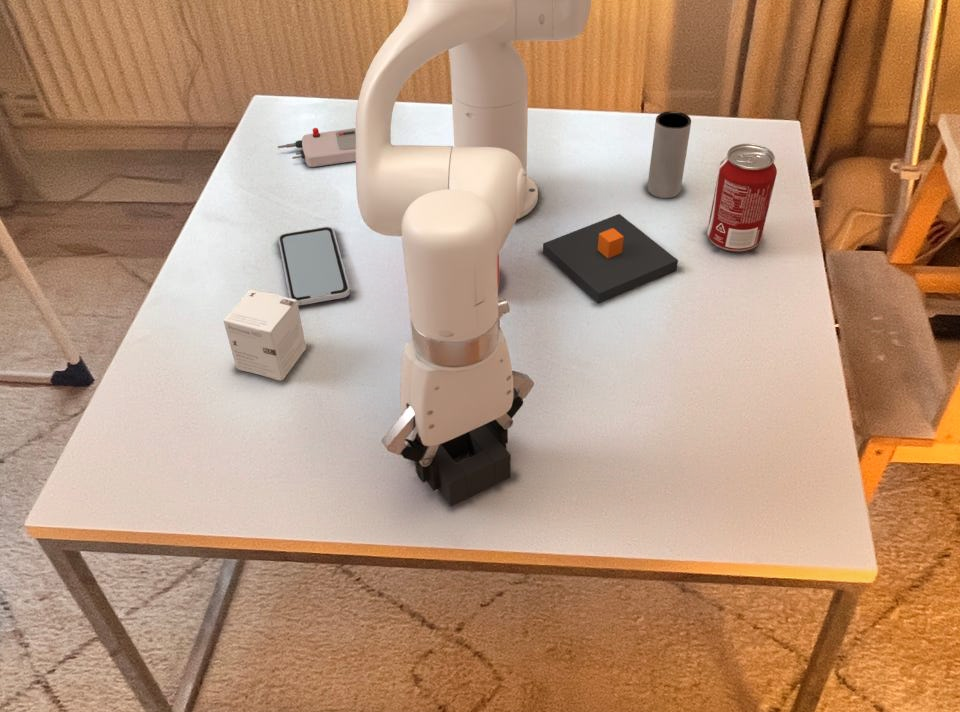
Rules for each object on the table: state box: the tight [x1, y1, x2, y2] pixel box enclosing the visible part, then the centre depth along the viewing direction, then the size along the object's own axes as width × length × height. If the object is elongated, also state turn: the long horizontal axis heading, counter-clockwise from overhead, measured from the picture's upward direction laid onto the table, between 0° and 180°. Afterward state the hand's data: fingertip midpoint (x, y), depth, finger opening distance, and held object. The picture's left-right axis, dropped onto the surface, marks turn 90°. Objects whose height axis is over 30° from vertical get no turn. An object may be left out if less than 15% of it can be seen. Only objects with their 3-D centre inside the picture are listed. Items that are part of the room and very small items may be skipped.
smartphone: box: [277, 226, 351, 306], centre depth 117 cm, size 7×1×15 cm
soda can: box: [706, 143, 778, 252], centre depth 114 cm, size 7×7×12 cm
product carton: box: [223, 288, 307, 382], centre depth 103 cm, size 6×6×7 cm
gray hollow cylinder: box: [647, 110, 692, 199], centre depth 123 cm, size 4×4×10 cm
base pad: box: [542, 213, 679, 304], centre depth 115 cm, size 12×12×4 cm
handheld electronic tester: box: [277, 127, 356, 168], centre depth 134 cm, size 7×16×3 cm, turn 102°
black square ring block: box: [434, 424, 512, 507], centre depth 93 cm, size 7×7×4 cm
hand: (462, 464), depth 93 cm, fingers closed on black square ring block, 7 cm apart
